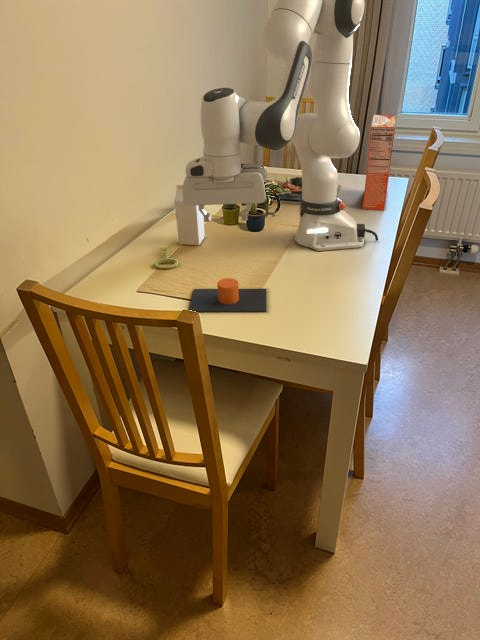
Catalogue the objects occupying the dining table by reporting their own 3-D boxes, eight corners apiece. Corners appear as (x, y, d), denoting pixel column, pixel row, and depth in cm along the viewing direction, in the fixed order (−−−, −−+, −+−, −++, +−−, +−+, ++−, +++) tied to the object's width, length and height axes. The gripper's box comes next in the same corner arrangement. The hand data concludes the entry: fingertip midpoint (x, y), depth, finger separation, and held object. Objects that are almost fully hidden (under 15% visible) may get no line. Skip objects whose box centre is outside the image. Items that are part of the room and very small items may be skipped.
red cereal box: (365, 190, 210) (373, 114, 194) (385, 191, 208) (395, 115, 193) (362, 208, 191) (371, 126, 176) (384, 210, 190) (395, 127, 174)
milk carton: (199, 245, 166) (194, 189, 156) (178, 244, 167) (173, 188, 157) (204, 237, 171) (201, 182, 161) (184, 236, 173) (179, 181, 163)
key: (168, 251, 162) (168, 245, 161) (180, 266, 152) (179, 260, 151) (147, 256, 160) (146, 249, 158) (157, 271, 150) (156, 265, 149)
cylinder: (239, 294, 136) (238, 278, 133) (238, 304, 131) (237, 287, 128) (219, 294, 136) (218, 278, 133) (217, 304, 131) (216, 287, 129)
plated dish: (244, 200, 204) (244, 182, 200) (262, 181, 227) (262, 165, 223) (330, 207, 195) (332, 188, 191) (339, 187, 218) (341, 170, 214)
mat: (266, 289, 138) (266, 288, 138) (266, 312, 128) (266, 310, 128) (194, 290, 139) (194, 288, 139) (188, 312, 129) (188, 310, 129)
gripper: (266, 159, 120) (266, 214, 128) (181, 162, 121) (187, 217, 128) (267, 166, 115) (267, 223, 122) (178, 170, 116) (184, 226, 123)
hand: (225, 220), depth 125 cm, fingers open, 8 cm apart
